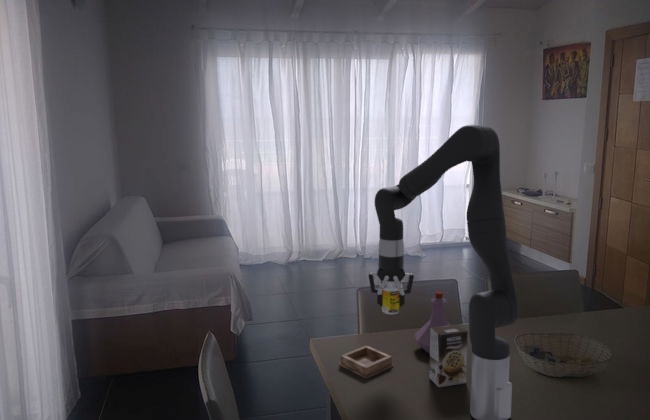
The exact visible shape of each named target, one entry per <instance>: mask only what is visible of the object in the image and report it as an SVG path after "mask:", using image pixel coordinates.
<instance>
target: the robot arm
mask: <svg viewBox="0 0 650 420" xmlns="http://www.w3.org/2000/svg"><path fill="white" fill-rule="evenodd" d="M500 147H501V146H500V139H499V136H498V133H497V132H496V131H495V129H493V128H492V127H490V126H487V125H479V124H466V125H463V126H461V127H460V128H458V129H457V130H456V131H454V133H453V134H452V135H451V136H449V138H447V140H446V141H445V142H444V143H443V144H442V145H441V146H440V147H439V148H438V149H437V150H436V151H434V153H432V154H431V155H430V156H429V157H428V158H426V160H424V161H423V162H421V164H419V165H417V166H416V167H415V168H413V169H412V170H410V171H409V172H407V173H406V174H405V175H403V176H402V177H401V178H400V179H399V181H398V184H396V185H394V186H389V187H383V188H380V189H379V190H378V191H377V192H376V193H375V196H374V208H375V211H376V217H377V220H378V224H379V241H378V269H377V271H376V272H375V271H374V272H372V271H370V272H368V281H369V287H370V292H371V294H372V293H373V294H374V293H375V294H376V295H377V298H376V302H377V305H379V307H382V291H383V289H384V287H385V285H386V283H387V281H395V283H396V285H397V287H398V289H399V291H400V308H402V307H403V306H404V305H405V297H406V296H405V295H407V294H411V291H412V289H413V283H414V278H415V277H414V272H406V271H405V270H404V267H405V266H404V264H405V263H404V261H405V259H404V257H405V254H404V253H405V244H404V222H403V220H402V219H400V218H398V217H396V215H395V214H396V213H395V211H398V210H401V209H404V208H406V207H407V206H408V205H410V204H411V203H412V202H413V201H414V200H415V199H416V198H417V197H419V196H420V195H422V194H424V193H425V192H426V191H428V190H430V189H431V188H433V187H434V186H435V185H436V184H437V183H438V182H439V181H440V179H441V178H442V176H444V174H445V173H446V172H448V171H449V170H450V169H452V168H454V167H455V166H458V165H460V164H463V163H465V162H471V167H472V175H473V186H472V190H471V194H470V197H469V201H468V204H467V207H466V224H467V225H466V226H467V233H468V240H469V243H470V245H471V247H472V249H474V251H475V253H476V254H477V256H479V258H480V259H481V261H482V262H483V264H484V266H485V267H486V269H487V272H488V274H489V280H490V287H491V290H487V291H482V292H477V293H474V294H473V295H472V296H471V297H470V299H469V304H468V328H469V330H468V332H469V333H468V335H469V339H470V344H471V363H470V364H471V367H470V368H471V369H470V396H469V397H470V398H469V399H470V400H469V401H470V403H469V404H470V405H469V406H470V407H469V408H470V409H469V413H470V415H471V417H472V418H474V419H475V420H508V419H511V418H512V417H511V416H512V414H511V413H512V396H513V395H512V393H513V391H512V390H513V383H512V382H510V381H509V380H510V379H509V378H510V358H511V357H510V355H511V351H510V350H511V346H510V343H509V342H508V341H507V340H506V339H504V338H502V337H500V336H497V335H496V329H498V328H503V327H507V326H511V325H513V324H515V323H516V322H517V320H518V317H519V303H518V296H517V292H516V286H515V281H514V277H513V272H512V268H511V262H510V254H509V247H508V240H507V238H508V237H507V227H506V226H507V225H506V218H505V211H504V210H505V209H504V203H503V202H504V201H503V194H502V193H503V192H502V186H501V185H502V183H501V171H500V170H501V156H500V155H501V153H500V152H501V151H500ZM404 277H405V278H406V279H405V280H406V281H407V285H406V288H404V287H403V283H402V282H401V281H402V280H403V279H404ZM377 278H378V279H379V280H380V282H379V284H378V285H379V286H378V288H377V287H376V285H375V280H376V279H377Z"/></svg>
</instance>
